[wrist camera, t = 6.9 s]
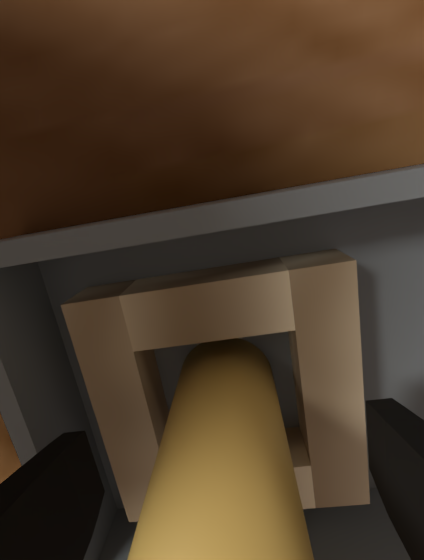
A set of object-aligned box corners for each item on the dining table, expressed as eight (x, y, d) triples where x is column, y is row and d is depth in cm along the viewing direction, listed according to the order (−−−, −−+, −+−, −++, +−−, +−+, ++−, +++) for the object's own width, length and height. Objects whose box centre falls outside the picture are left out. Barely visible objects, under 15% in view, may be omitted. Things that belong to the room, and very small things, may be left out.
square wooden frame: (335, 248, 10) (356, 260, 8) (350, 460, 12) (370, 504, 10) (87, 287, 10) (60, 304, 9) (142, 478, 13) (129, 522, 11)
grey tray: (540, 142, 9) (700, 117, 6) (510, 477, 12) (606, 575, 9) (21, 235, 11) (-65, 253, 8) (111, 509, 14) (76, 601, 11)
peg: (265, 329, 11) (356, 704, 3) (278, 411, 11) (378, 877, 4) (171, 344, 11) (25, 714, 3) (191, 422, 12) (112, 869, 4)
